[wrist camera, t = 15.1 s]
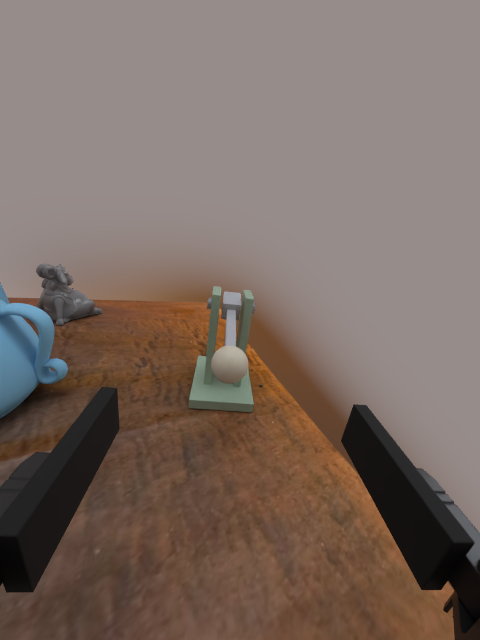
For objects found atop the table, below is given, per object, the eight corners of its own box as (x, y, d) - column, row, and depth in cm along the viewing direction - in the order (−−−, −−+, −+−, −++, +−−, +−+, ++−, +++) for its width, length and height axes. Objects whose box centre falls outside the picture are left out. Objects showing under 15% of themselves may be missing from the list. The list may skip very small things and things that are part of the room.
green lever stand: (252, 412, 31) (271, 309, 26) (188, 408, 30) (196, 300, 26) (245, 366, 41) (258, 286, 37) (197, 362, 40) (204, 280, 36)
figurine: (106, 314, 55) (104, 265, 51) (58, 326, 46) (51, 269, 43) (82, 305, 58) (78, 258, 54) (32, 314, 49) (24, 260, 46)
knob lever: (245, 392, 24) (252, 367, 21) (208, 389, 23) (210, 364, 21) (242, 312, 34) (246, 289, 32) (216, 309, 34) (219, 286, 32)
